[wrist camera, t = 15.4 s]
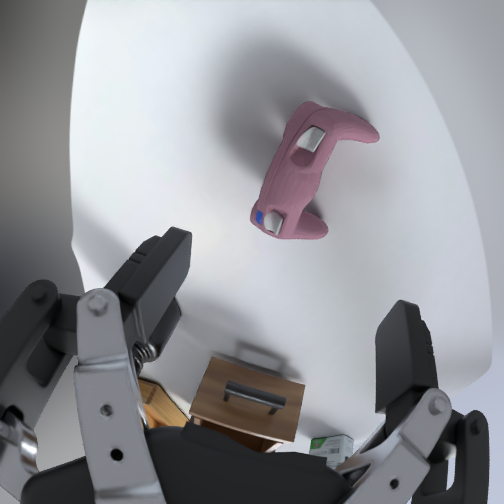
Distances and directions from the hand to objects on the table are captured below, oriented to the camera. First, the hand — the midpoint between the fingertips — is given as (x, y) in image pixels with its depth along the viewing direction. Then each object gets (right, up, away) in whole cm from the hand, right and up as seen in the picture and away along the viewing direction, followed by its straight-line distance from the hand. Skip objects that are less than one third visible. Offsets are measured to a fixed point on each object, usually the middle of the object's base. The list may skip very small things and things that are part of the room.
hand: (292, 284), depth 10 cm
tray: (-24, -37, +52) cm, 68 cm away
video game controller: (+3, +8, +10) cm, 13 cm away
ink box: (+16, -39, +41) cm, 59 cm away
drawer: (-1, -19, +30) cm, 35 cm away
